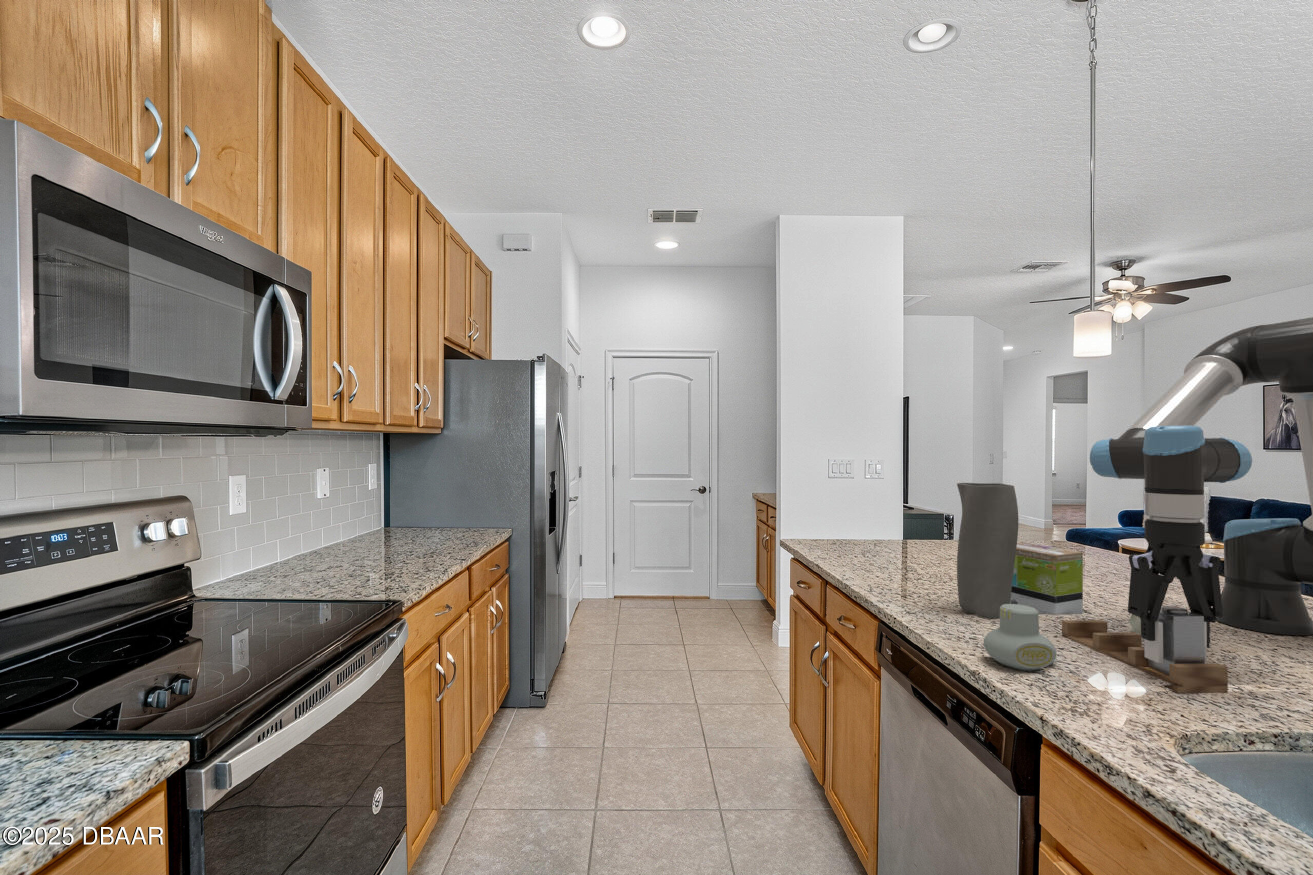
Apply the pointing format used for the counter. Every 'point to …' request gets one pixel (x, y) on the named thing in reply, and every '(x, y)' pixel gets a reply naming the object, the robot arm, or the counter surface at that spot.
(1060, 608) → the tea box
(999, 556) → the vase
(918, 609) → the counter surface
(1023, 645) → the air freshener
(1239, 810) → the counter surface
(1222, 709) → the counter surface
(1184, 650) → the block
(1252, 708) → the counter surface
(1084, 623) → the wooden compartment tray
